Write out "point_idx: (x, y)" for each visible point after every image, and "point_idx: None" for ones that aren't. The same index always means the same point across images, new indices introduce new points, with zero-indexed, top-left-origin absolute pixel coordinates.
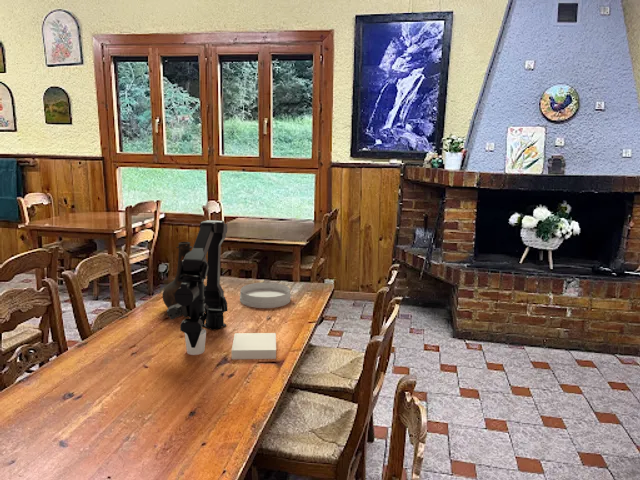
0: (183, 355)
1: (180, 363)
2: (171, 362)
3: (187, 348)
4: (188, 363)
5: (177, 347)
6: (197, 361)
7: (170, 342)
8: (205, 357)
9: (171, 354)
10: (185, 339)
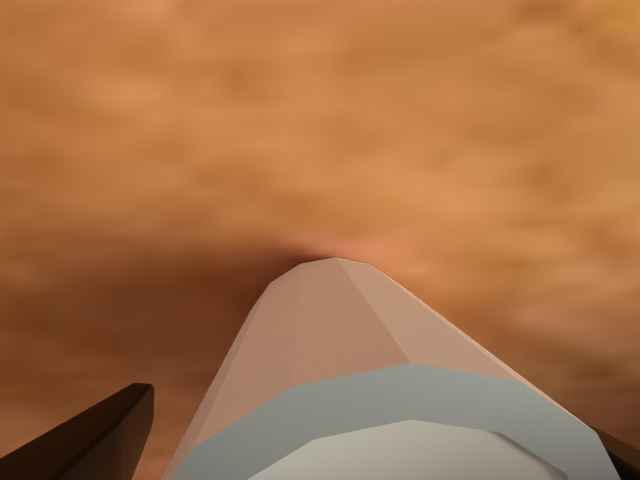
0: (243, 230)
1: (36, 212)
2: (63, 109)
3: (280, 289)
4: (38, 294)
5: (463, 151)
6: (87, 373)
7: (620, 60)
8: (177, 435)
9: (284, 94)
10: (321, 310)
